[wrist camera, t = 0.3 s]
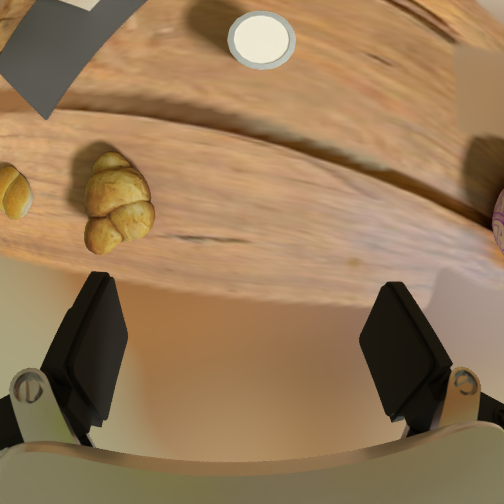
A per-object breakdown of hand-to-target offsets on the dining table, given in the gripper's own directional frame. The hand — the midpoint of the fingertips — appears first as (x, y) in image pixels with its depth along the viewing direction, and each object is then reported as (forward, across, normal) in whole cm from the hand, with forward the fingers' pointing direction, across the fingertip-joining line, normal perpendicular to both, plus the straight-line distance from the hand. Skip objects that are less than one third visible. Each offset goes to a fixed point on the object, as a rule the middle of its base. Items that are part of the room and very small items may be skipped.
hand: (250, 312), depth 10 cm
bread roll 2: (+31, +15, +8) cm, 35 cm away
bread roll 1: (+31, +36, +7) cm, 48 cm away
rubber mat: (+31, +26, -17) cm, 44 cm away
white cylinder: (+31, -2, -12) cm, 33 cm away
